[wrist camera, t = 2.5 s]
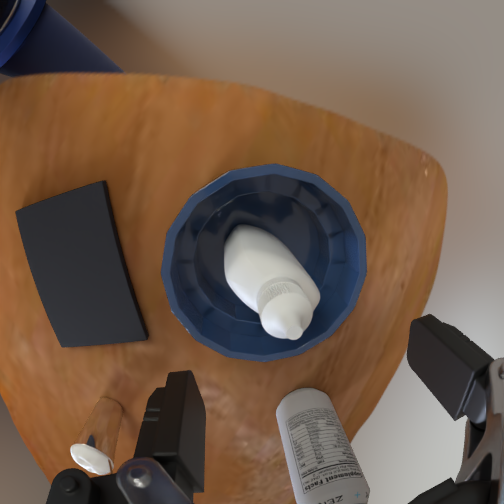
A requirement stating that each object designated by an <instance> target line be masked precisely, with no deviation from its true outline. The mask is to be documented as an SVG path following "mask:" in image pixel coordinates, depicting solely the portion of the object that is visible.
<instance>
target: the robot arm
mask: <svg viewBox="0 0 504 504" xmlns="http://www.w3.org/2000/svg"><path fill="white" fill-rule="evenodd" d="M20 2H21V0H0V36H1V35H2V34H3V32H4V31H5V30H6V28H7V27H8V25H9V24H10V22H11V21H12V19H13V17H14V15H15V14H16V12H17V9H18V7H19V5H20ZM407 360H408V363H409V365H410V367H411V369H412V370H413V371H414V372H415V373H416V374H417V375H418V377H419V378H420V379H421V380H422V382H424V384H425V385H426V386H427V387H428V389H429V390H430V391H431V392H432V394H433V395H434V396H435V397H436V398H437V400H438V401H439V402H440V403H441V404H442V406H443V407H444V408H445V409H446V410H447V412H448V413H449V414H450V416H451V417H452V418H453V419H454V421H456V420H458V419H459V418H461V417H463V416H464V415H466V416H467V417H468V419H467V422H466V427H465V442H464V452H463V460H462V465H461V469H460V471H459V473H458V476H457V478H456V481H455V483H454V481H453V480H452V478H449V479H447V480H445V481H444V482H442V483H440V484H438V485H437V486H435V487H433V488H431V489H429V490H427V491H425V492H424V493H422V494H420V495H418V496H417V497H416V498H415V499H414V500H412V501H411V502H409V503H408V504H504V358H498V359H496V360H494V359H493V358H492V357H491V356H490V355H488V354H487V353H486V352H485V351H484V350H483V349H481V348H480V347H479V346H478V345H476V344H475V343H474V342H473V341H470V339H469V338H468V337H467V336H466V335H463V333H462V332H461V331H459V330H458V329H457V328H455V327H454V326H451V325H449V324H446V323H444V322H443V323H442V322H441V321H439V320H438V319H437V318H436V317H434V316H433V315H431V314H428V315H426V316H423V317H420V318H417V319H414V320H413V321H412V322H411V326H410V334H409V342H408V349H407ZM143 420H144V421H142V425H141V429H140V433H139V437H138V441H137V445H136V449H135V454H134V457H133V458H132V459H129V460H128V461H126V462H124V463H123V464H122V465H121V466H120V468H119V469H118V471H117V473H115V474H110V475H105V476H99V477H92V478H90V477H89V476H88V475H87V474H86V473H85V472H83V471H82V470H79V469H75V468H71V469H66V470H63V471H61V472H60V473H59V474H57V476H56V477H55V478H54V480H53V482H52V485H51V489H50V492H49V495H48V499H47V502H46V504H194V503H193V493H200V492H204V461H205V427H206V412H205V406H204V402H203V399H202V397H201V394H200V391H199V389H198V386H197V383H196V381H195V378H194V375H193V373H192V371H191V370H187V371H178V372H170V373H169V374H168V377H167V381H166V386H165V387H162V388H156V390H155V391H154V392H153V393H152V395H151V396H150V397H149V399H148V402H147V406H146V412H145V414H144V418H143Z"/></svg>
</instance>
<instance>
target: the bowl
mask: <svg viewBox="0 0 504 504" xmlns="http://www.w3.org/2000/svg"><path fill="white" fill-rule="evenodd" d="M240 224H245V225H250V226H254V227H258V228H260V229H263V230H265V231H267V232H269V233H271V234H272V235H274V236H275V237H277V238H278V239H279V240H280V241H281V242H283V243H284V244H285V245H286V247H287V248H288V249H289V250H290V251H291V253H292V254H293V255H294V256H295V258H296V259H297V260H298V261H299V263H300V264H301V265H302V267H303V268H304V269H305V270H306V272H307V273H308V274H309V276H310V277H311V279H312V280H313V281H314V283H315V284H316V286H317V288H318V290H319V292H320V301H319V303H318V305H317V306H316V308H315V309H314V311H313V316H312V317H313V318H312V320H311V323H310V325H308V327H307V328H306V329H305V331H303V333H302V335H301V337H300V338H298V339H296V340H290V339H289V338H283V339H282V338H277V337H275V336H272V335H270V334H268V332H266V331H265V329H264V328H263V326H262V324H261V320H260V316H259V313H257V312H255V311H254V310H253V309H251V308H250V307H248V306H247V305H246V304H245V303H244V302H243V301H242V300H241V299H240V298H239V297H238V296H237V295H236V294H235V293H234V291H233V290H232V289H231V287H230V286H229V284H228V282H227V280H226V276H225V268H224V244H225V241H226V240H227V238H228V236H229V235H230V233H231V232H232V230H233V229H234V227H236V226H237V225H240ZM366 273H367V262H366V238H365V234H364V232H363V230H362V228H361V226H360V223H359V221H358V219H357V217H356V215H355V213H354V211H353V209H352V207H351V205H350V203H349V202H348V200H347V199H346V198H344V197H343V196H342V195H341V194H340V193H339V192H337V191H336V190H335V189H334V188H333V187H331V186H330V185H329V184H328V183H327V182H325V181H324V180H323V179H322V178H320V177H319V176H318V175H316V174H313V173H309V172H306V171H302V170H298V169H295V168H291V167H287V166H283V165H279V164H266V165H258V166H252V167H246V168H240V169H234V170H229V171H227V172H225V173H224V174H222V175H220V176H219V177H217V178H216V179H214V180H213V181H211V182H210V183H208V184H206V185H205V186H203V187H202V188H200V189H199V190H198V191H196V192H195V193H194V194H193V195H192V196H190V198H189V199H188V201H187V202H186V204H185V205H184V207H183V208H182V210H181V211H180V213H179V214H178V216H177V218H176V219H175V221H174V222H173V224H172V225H171V227H170V229H169V230H168V232H167V235H166V241H165V247H164V254H163V261H162V268H161V277H162V280H163V284H164V287H165V291H166V294H167V298H168V301H169V304H170V308H171V311H172V313H173V314H174V315H175V316H176V317H177V319H178V320H179V321H180V322H181V324H182V325H183V326H184V327H185V328H186V330H187V331H188V332H189V333H190V334H191V335H192V337H193V338H194V339H195V340H196V341H198V342H200V343H202V344H203V345H205V346H207V347H209V348H211V349H213V350H215V351H217V352H218V353H220V354H222V355H224V356H226V357H229V358H236V359H243V360H251V361H259V362H268V361H273V360H278V359H282V358H287V357H292V356H296V355H299V354H302V353H303V352H305V351H307V350H309V349H310V348H312V347H314V346H315V345H317V344H319V343H320V342H322V341H324V340H325V339H327V338H329V337H330V336H331V335H332V334H333V333H334V332H335V331H336V330H337V329H338V327H339V326H340V325H341V324H342V323H343V321H344V320H345V319H346V318H347V317H348V315H349V314H350V313H351V312H352V311H353V309H354V307H355V305H356V303H357V300H358V297H359V294H360V292H361V289H362V286H363V283H364V280H365V277H366Z"/></svg>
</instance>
